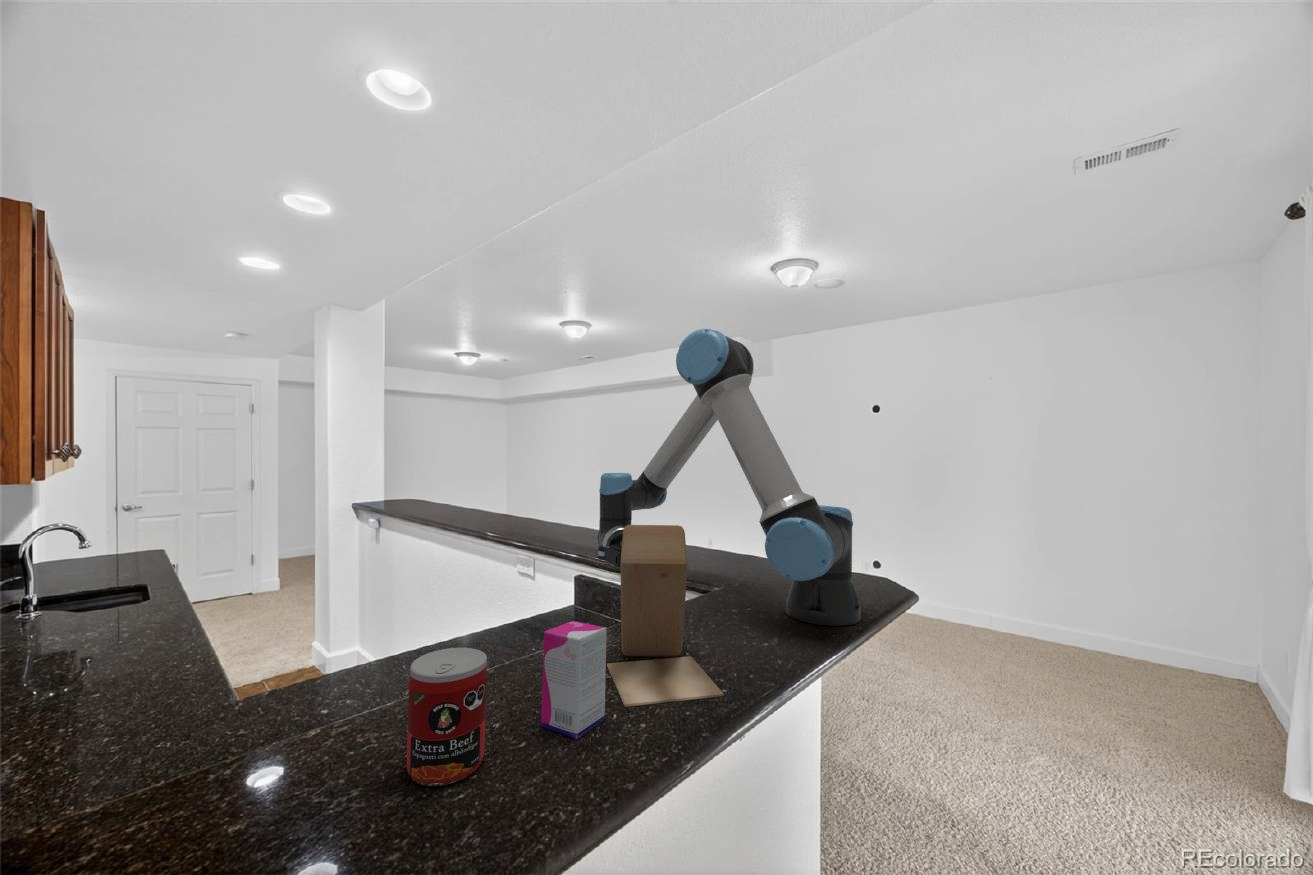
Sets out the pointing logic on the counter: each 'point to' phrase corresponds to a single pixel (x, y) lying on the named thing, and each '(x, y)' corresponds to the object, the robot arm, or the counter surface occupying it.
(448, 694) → the canned food
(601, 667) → the supplement box
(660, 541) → the wooden block
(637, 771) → the counter surface
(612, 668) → the cork mat
